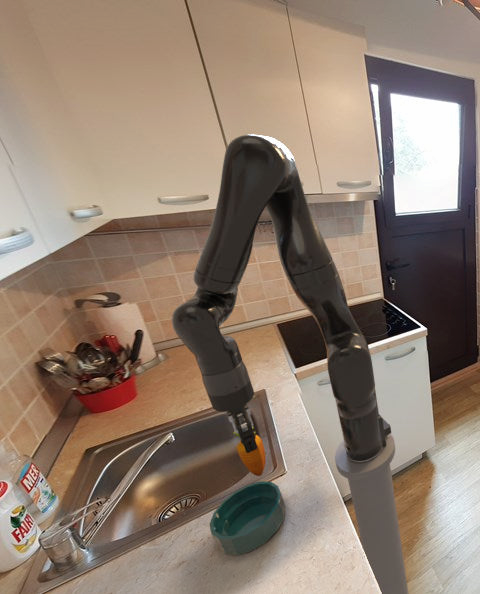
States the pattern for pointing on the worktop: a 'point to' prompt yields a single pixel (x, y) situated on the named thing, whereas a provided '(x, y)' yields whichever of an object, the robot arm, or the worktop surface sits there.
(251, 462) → the carrot
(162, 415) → the worktop surface
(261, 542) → the bowl
